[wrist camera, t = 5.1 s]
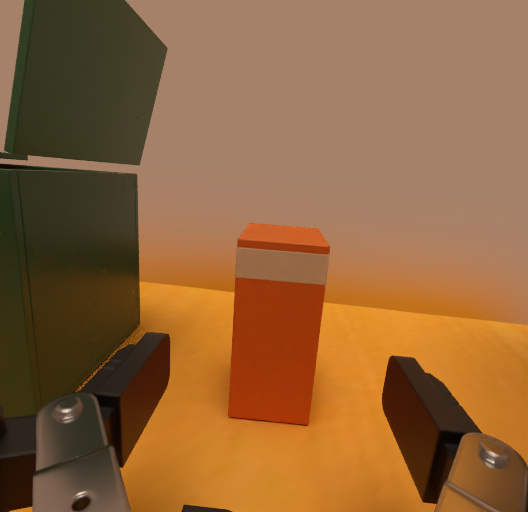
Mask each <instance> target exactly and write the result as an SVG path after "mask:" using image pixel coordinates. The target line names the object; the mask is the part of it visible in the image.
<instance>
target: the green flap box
mask: <svg viewBox="0 0 528 512" xmlns="http://www.w3.org/2000/svg"><path fill="white" fill-rule="evenodd" d="M0 158H4V159H17V160H28V157H27V155H20V154H12V153H2V152H0ZM138 243H139V242H138V192H137V174H133V173H119V172H106V171H92V170H78V169H64V168H52V167H39V166H26V165H12V164H0V405H1V406H2V407H3V411H4V418H5V419H6V418H14V417H22V416H30V415H36V414H38V412H39V411H40V409H41V408H42V407H43V406H44V405H45V404H47V403H48V402H50V401H51V400H53V399H55V398H57V397H60V396H62V395H66V394H70V393H73V392H74V391H75V390H76V389H77V388H78V387H79V386H80V385H81V384H82V383H83V382H84V381H85V380H86V379H87V378H88V377H89V376H90V375H91V374H92V373H93V372H94V371H95V370H96V368H97V367H98V366H99V365H100V364H101V363H102V362H103V361H104V360H105V359H106V358H107V357H108V356H109V355H110V354H111V353H112V352H113V351H114V350H115V349H116V348H117V347H118V346H119V345H120V344H121V343H122V342H123V341H124V340H125V339H126V338H127V337H128V336H129V335H130V334H131V333H132V332H133V331H134V330H135V329H136V328H137V327H138V326H139V325H140V292H139V245H138Z"/></svg>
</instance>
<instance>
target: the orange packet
mask: <svg viewBox="0 0 528 512" xmlns="http://www.w3.org/2000/svg"><path fill="white" fill-rule="evenodd" d="M329 252H330V246H329V244H328V243H327V241H326V240H325V238H324V237H323V236H322V234H321V233H320V231H319V230H318V229H317V228H305V227H292V226H280V225H267V224H255V223H250V224H249V225H248V226H247V228H246V229H245V230H244V232H243V233H242V234H241V236H240V237H239V238H238V244H237V255H236V273H235V274H236V275H235V276H236V281H235V300H234V318H233V337H232V356H231V374H230V393H229V411H228V416H229V417H236V418H245V419H255V420H265V421H274V422H284V423H293V424H303V425H308V423H309V414H310V406H311V398H312V390H313V382H314V374H315V366H316V358H317V349H318V341H319V333H320V325H321V317H322V309H323V301H324V292H325V285H326V280H327V272H328V263H329Z"/></svg>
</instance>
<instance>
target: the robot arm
mask: <svg viewBox="0 0 528 512" xmlns="http://www.w3.org/2000/svg"><path fill="white" fill-rule="evenodd" d="M169 376H170V337H169V334H164V333H153V332H147V333H146V334H145V335H144V336H143V337H142V339H141V340H140V341H139V342H138V343H137V344H136V345H134V344H130V345H128V346H126V347H125V348H123V349H121V350H119V351H117V353H116V354H115V355H114V356H113V357H112V358H111V359H110V361H109V362H107V363H106V364H105V365H104V366H103V368H102V369H100V370H99V371H98V372H97V373H96V374H95V376H94V377H93V378H92V379H91V380H90V381H89V382H88V383H87V384H86V385H85V386H84V387H83V388H82V389H81V390H80V391H79V392H76V393H70V394H66V395H62V396H60V397H57V398H55V399H53V400H51V401H50V402H48V403H47V404H45V405H44V406H43V407H42V408H41V409H40V411H39V412H38V414H36V415H30V416H22V417H14V418H6V419H5V418H4V411H3V407H2V406H1V405H0V512H9V511H11V510H16V509H22V508H27V507H32V506H33V512H131V509H130V505H129V502H128V498H127V494H126V490H125V487H124V483H123V479H122V476H121V472H120V468H119V467H122V468H123V466H124V464H125V462H126V461H127V459H128V457H129V455H130V453H131V452H132V450H133V448H134V446H135V444H136V443H137V441H138V439H139V437H140V435H141V434H142V432H143V430H144V428H145V426H146V425H147V423H148V421H149V419H150V417H151V415H152V414H153V412H154V410H155V408H156V406H157V405H158V403H159V401H160V399H161V397H162V396H163V394H164V392H165V390H166V388H167V385H168V381H169ZM382 405H383V410H384V413H385V416H386V418H387V420H388V423H389V425H390V427H391V430H392V432H393V434H394V437H395V439H396V441H397V444H398V446H399V448H400V450H401V453H402V455H403V457H404V460H405V462H406V464H407V467H408V469H409V471H410V474H411V476H412V478H413V481H414V483H415V485H416V487H417V490H418V492H419V494H420V497H421V499H422V501H423V502H425V503H434V504H437V505H436V508H435V511H434V512H528V467H527V465H526V463H525V461H524V460H523V458H522V457H521V456H520V455H519V454H518V453H517V452H516V451H515V450H514V449H512V448H511V447H510V446H508V445H507V444H505V443H504V442H502V441H500V440H498V439H496V438H494V437H491V436H489V435H486V434H483V433H482V432H481V431H480V430H479V428H478V427H477V426H476V425H475V423H474V422H473V421H472V419H471V418H470V417H469V416H468V414H467V413H466V412H465V410H464V409H463V408H462V407H461V405H459V403H458V402H457V400H456V399H455V398H454V396H452V394H451V393H450V391H449V390H448V389H447V387H446V386H445V385H444V384H443V383H442V382H441V381H439V380H438V379H437V378H435V377H434V376H433V375H431V374H430V373H425V372H424V370H423V369H422V368H421V366H420V365H419V364H418V362H417V361H416V359H415V358H412V357H402V356H391V357H390V358H389V361H388V366H387V371H386V377H385V382H384V388H383V393H382ZM182 512H232V511H229V510H226V509H217V508H208V507H200V506H191V505H184V506H183V509H182Z"/></svg>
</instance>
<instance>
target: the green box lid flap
mask: <svg viewBox="0 0 528 512" xmlns="http://www.w3.org/2000/svg"><path fill="white" fill-rule="evenodd" d="M166 53H167V47H166V46H165V45H164V44H163V42H162V41H161V40H160V39H159V38H158V37H157V36H156V35H155V34H154V33H153V31H152V30H151V29H150V28H149V27H148V26H147V24H146V23H145V22H144V21H143V20H142V19H141V18H140V17H139V16H138V14H137V13H136V12H135V11H134V10H133V9H132V8H131V7H130V5H129V4H128V3H127V2H126V1H125V0H25V1H24V8H23V15H22V23H21V30H20V37H19V45H18V52H17V59H16V66H15V74H14V81H13V88H12V96H11V103H10V110H9V118H8V125H7V132H6V140H5V147H4V151H6V152H9V153H12V154H20V155H32V156H42V157H54V158H64V159H75V160H86V161H97V162H108V163H119V164H131V165H140V161H141V157H142V153H143V149H144V144H145V140H146V136H147V132H148V128H149V124H150V119H151V115H152V111H153V107H154V103H155V99H156V95H157V90H158V86H159V82H160V78H161V73H162V70H163V65H164V61H165V57H166Z"/></svg>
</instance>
